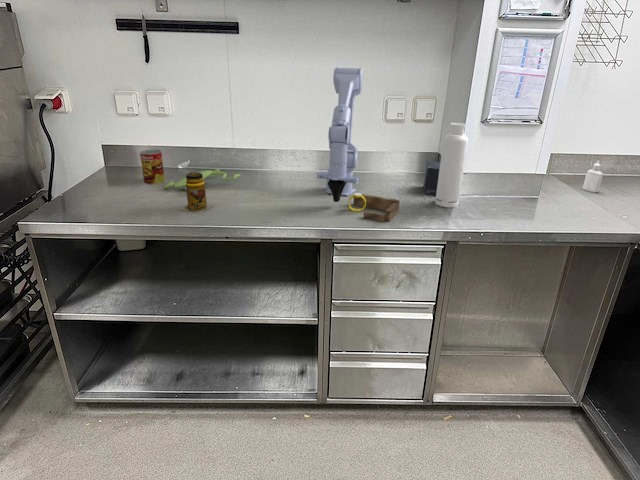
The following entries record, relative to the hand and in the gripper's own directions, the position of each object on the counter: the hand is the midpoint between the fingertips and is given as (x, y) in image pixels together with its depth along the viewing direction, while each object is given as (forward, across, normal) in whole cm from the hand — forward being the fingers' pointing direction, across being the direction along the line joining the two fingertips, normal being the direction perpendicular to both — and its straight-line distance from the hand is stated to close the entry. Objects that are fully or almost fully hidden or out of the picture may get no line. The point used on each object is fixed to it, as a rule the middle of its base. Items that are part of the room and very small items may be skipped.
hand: (336, 201), depth 152 cm
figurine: (+3, -55, -3) cm, 55 cm away
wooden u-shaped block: (+2, +12, 0) cm, 13 cm away
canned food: (+2, -76, -8) cm, 76 cm away
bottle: (+2, +34, +22) cm, 40 cm away
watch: (+2, +8, 0) cm, 8 cm away
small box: (+2, +26, +34) cm, 43 cm away
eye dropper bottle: (+2, +82, +65) cm, 104 cm away
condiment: (+2, -42, -24) cm, 48 cm away
